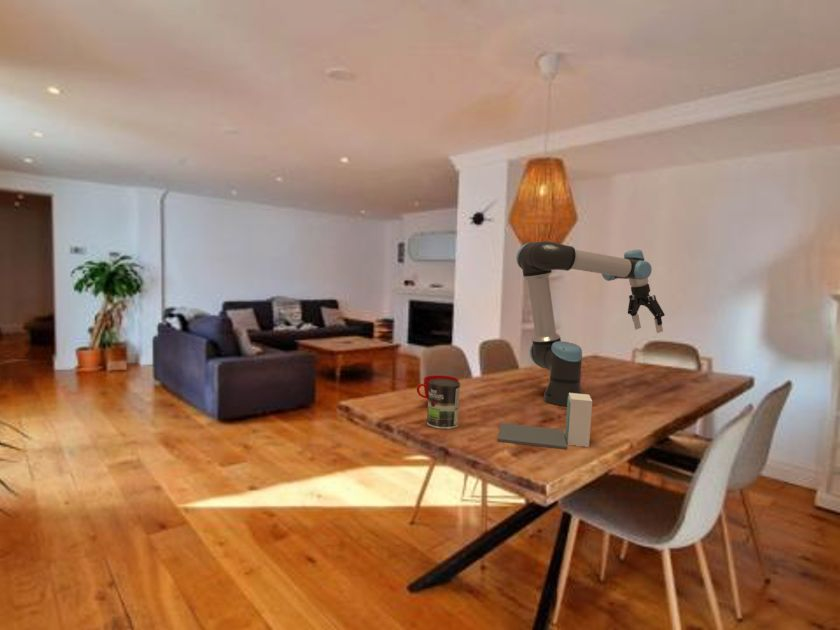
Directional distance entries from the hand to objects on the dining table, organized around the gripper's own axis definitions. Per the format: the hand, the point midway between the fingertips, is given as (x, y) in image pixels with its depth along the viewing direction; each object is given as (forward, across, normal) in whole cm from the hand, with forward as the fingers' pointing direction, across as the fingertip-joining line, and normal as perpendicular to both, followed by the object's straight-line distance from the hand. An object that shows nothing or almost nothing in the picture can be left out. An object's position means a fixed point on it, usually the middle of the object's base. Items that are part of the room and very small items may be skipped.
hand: (648, 330), depth 218 cm
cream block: (+5, -55, +76) cm, 94 cm away
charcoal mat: (+1, -48, +88) cm, 100 cm away
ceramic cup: (-5, -11, +106) cm, 107 cm away
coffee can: (-6, -33, +111) cm, 115 cm away
